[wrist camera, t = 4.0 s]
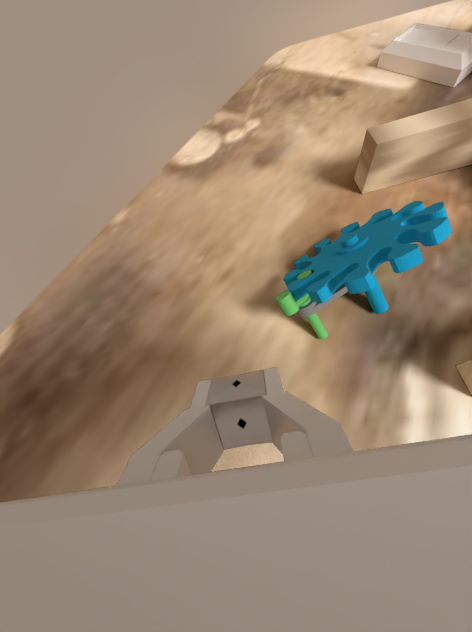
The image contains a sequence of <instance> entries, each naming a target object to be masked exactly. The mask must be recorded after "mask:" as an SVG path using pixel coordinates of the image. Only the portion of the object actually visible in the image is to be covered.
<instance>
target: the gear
mask: <svg viewBox="0 0 472 632" xmlns="http://www.w3.org/2000/svg"><path fill="white" fill-rule="evenodd" d="M341 232H342V234H341V236H340V237H339V238H338V239H337V240H336V241H335V242H333V243H331V241H330V239H329V238H326V239H324V240H322V241H321V242H319V243H317V244H316V245H315V246H314V248H315V250H316V252H317V253H318V255H316V256H314V257H312V258H310V257H309V255H308V254H307V255H303V256H302V257H300V258H299V259H298V260H297V261H295V262H294V265H295V267H296V269H294V270H292V271H290V272H288V273H287V275H286V276H285V277H284V279H283V280H284V281H285V283H286V285H287V286H288V290H289V291H285V292H282V293H281V294H279V295H278V296H277V297H276V301H277V303H278V304H279V306H280V307H281V309H282V311H283V312H284V314H285V315H286V316H291V315H293V314H295V313H296V314H297V315H298V317H299V318H307V319H308V321H309V323H310V324H311V326H312V328H313V329H314V331H315V333H316V334H317V336H318V338H319V339H325V338H326V337H327V336H328V333H327V331H326V329H325V327H324V326H323V324H322V322H321V320H320V319H319V317H318V315H317V313H316V312H318V311H319V310H321V309H322V308H324V307H325V306H327V305H328V304H330V303H331V302H333V301H334V300H336V299H337V298H339V297H341V296H342V295H344V294H345V293H347V292H348V291H349V293H350V294H357V293H362V292H364V293H365V295H366V297H367V299H368V301H369V303H370V305H371V307H372V309H373V312H374V313H376V314H380V313H384V312H386V311H387V310H388V309H389V306H388V304H387V302H386V299H385V297H384V295H383V293H382V290H381V288H380V286H379V284H378V281H377V279H376V277H375V275H374V274H375V273H376V272H377V270H378V269H377V267H378V266H379V265H380V264H382V263H384V262H386V261H390V264H391V266H392V268H393V271H394V272H396V273H401V272H404V271H407V270H409V269H411V268H413V267H415V266H417V265H419V264H421V263H422V262H424V260H423V257H422V254H421V252H420V249H419V246H418V245H417V244H409V243H412V242H421V243H422V245H423V246H434V245H438V244H439V243H441V242H442V241H444V240H445V239H446V238H447V237H448V236H449V235H450V234H451V233H452V229H451V226H450V223H449V220H448V216H447V213H446V209H445V206H444V203H443V202H439V203H436V204H433V205H431V206H429V207H427V208H424V205H423V202H421V201H414V202H412V203H410V204H408V205H406V206H405V207H403V208H402V209H401V210H399V211H398V212H396V213H395V214H393V212H392V210H391V209H386V210H383V211H379V212H377V213H376V214H374V215H373V216H372V217H371V219H370V220H369V221H368V222H367V223H366V224H364V225H363V226H361V227H360V226H359V224H358V222H355V223H353V224H350V225H348V226H346V227H344V228H342V230H341Z"/></svg>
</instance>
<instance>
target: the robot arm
mask: <svg viewBox="0 0 472 632" xmlns="http://www.w3.org/2000/svg"><path fill="white" fill-rule="evenodd" d="M270 442H273V444H274V445H275V446H276V447H277V448H278V449H279V451H280V452H281V453H282V454H283V457H284V462H277V463H270V464H263V465H256V466H249V467H242V468H235V469H228V470H221V471H214V472H211V470H212V469H213V467H214V466H215V464H216V462H217V461H218V459H219V458H220V456H221V455H222V453H223V452H224V450H225V449H230V448H235V447H241V446H246V445H254V444H262V443H270ZM0 632H472V434H471V435H464V436H457V437H450V438H443V439H436V440H429V441H422V442H416V443H409V444H402V445H395V446H388V447H381V448H374V449H367V450H360V451H353V449H352V447H351V445H350V443H349V441H348V439H347V437H346V434H345V432H344V430H343V428H342V426H341V424H340V423H338V422H337V421H335V420H333V419H332V418H330V417H328V416H327V415H325V414H323V413H322V412H320V411H319V410H317V409H315V408H314V407H312V406H310V405H309V404H307V403H305V402H304V401H302V400H300V399H299V398H297V397H295V396H294V395H292V394H290V393H289V392H283V389H282V385H281V380H280V376H279V371H278V368H277V367H274V368H269V369H265V370H259V371H255V372H250V373H245V374H240V375H234V376H228V377H222V378H215V379H209V380H204V381H200V382H198V384H197V387H196V390H195V393H194V396H193V400H192V403H191V406H190V408H189V409H185V410H184V411H183V412H182V413H181V414H180V415H178V416H177V417H176V418H175V419H174V420H173V421H171V422H170V423H169V424H168V425H167V426H166V427H164V428H163V429H162V430H161V431H160V432H159V433H158V434H156V435H155V436H154V437H153V438H152V439H151V440H149V441H148V442H147V443H146V444H145V445H144V446H142V447H141V448H140V449H139V450H138V451H137V452H135V453H134V454H133V455H132V456H131V458H130V460H129V462H128V464H127V466H126V468H125V470H124V472H123V474H122V476H121V478H120V480H119V482H118V484H117V485H116V486H110V487H103V488H96V489H89V490H82V491H75V492H68V493H61V494H54V495H47V496H41V497H34V498H27V499H20V500H13V501H6V502H0Z"/></svg>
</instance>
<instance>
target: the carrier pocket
mask: <svg viewBox="0 0 472 632" xmlns="http://www.w3.org/2000/svg"><path fill="white" fill-rule="evenodd" d="M468 165H472V98H471V99H468V100H465V101H461V102H458V103H454V104H451V105H447V106H444V107H441V108H437V109H434V110H430V111H427V112H423V113H420V114H417V115H413V116H410V117H406V118H403V119H399V120H396V121H393V122H389V123H386V124H382V125H379V126H375V127H372V128H369V129H367V131H366V135H365V139H364V143H363V146H362V150H361V154H360V158H359V162H358V166H357V170H356V173H355V177H354V180H355V182H356V184H357V186H358V188H359V190H360V191H361V193H362V194H364V193H367V192H371V191H375V190H379V189H382V188H386V187H390V186H393V185H397V184H401V183H405V182H408V181H412V180H416V179H420V178H423V177H427V176H431V175H435V174H438V173H442V172H446V171H449V170H453V169H457V168H461V167H464V166H468ZM456 367H457V369H458V371H459V373H460V375H461V377H462V378H463V380H464V382H465V384H466V386H467V388H468V389H469V391H470V393H471V395H472V359H471V360H468V361H466V362H463V363H461V364H458V365H456Z"/></svg>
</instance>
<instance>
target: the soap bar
mask: <svg viewBox="0 0 472 632" xmlns="http://www.w3.org/2000/svg"><path fill="white" fill-rule="evenodd" d="M377 67H378V68H381V69H385V70H389V71H393V72H396V73H400V74H404V75H408V76H412V77H415V78H419V79H423V80H427V81H431V82H434V83H438V84H442V85H446V86H449V87H455V86H456V85H457V84H458V83H459V82H460V81H462V80H463V79H464V78H465V77H466V76H467V75H468V74H470V73H471V72H472V32H466V31H460V30H454V29H448V28H442V27H436V26H430V25H424V24H418V23H415V24H414V25H412V26H411V27H410V28H409V29H407V30H406V31H405V32H404V33H402V34H401V35H400V36H399V37H397V38H396V39H395V40H393V41H392V42H391V43H390V44H389V45H388V46H387V47H386V48H384V49H383V50H382V51H381V53H380V57H379V62H378V66H377Z"/></svg>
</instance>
